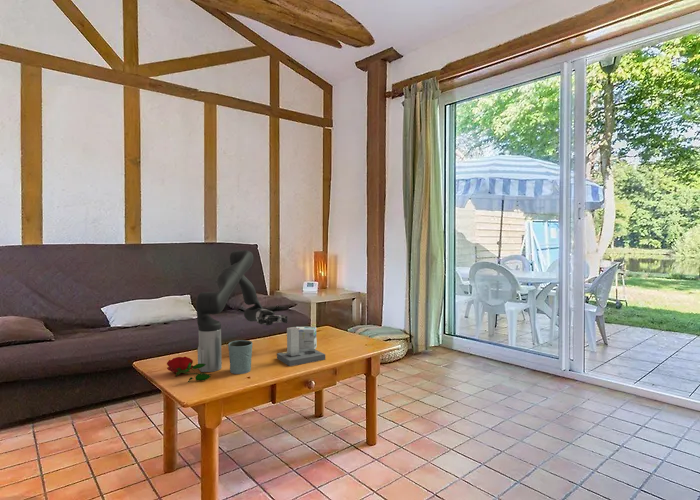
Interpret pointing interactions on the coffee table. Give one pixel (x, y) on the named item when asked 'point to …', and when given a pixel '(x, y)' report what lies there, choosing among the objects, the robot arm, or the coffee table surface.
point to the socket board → (301, 357)
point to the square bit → (292, 342)
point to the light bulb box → (307, 337)
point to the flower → (186, 367)
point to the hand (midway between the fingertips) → (278, 321)
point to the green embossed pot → (240, 356)
